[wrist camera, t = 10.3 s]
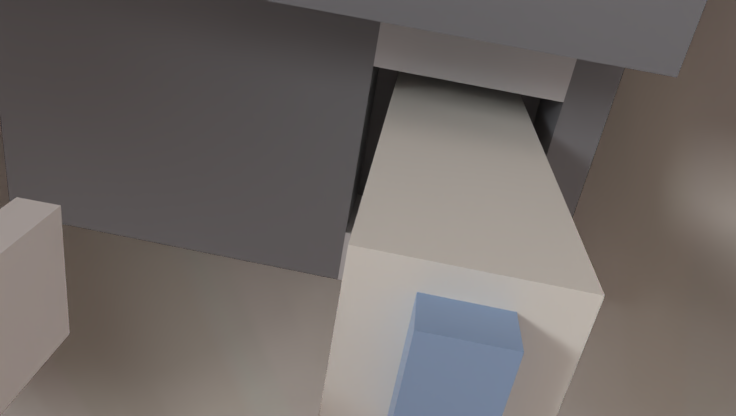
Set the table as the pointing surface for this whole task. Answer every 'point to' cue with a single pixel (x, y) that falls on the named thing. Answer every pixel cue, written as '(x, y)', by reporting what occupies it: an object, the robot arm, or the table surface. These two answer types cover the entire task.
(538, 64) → the grey socket holder
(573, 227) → the cream long block
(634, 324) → the table surface
